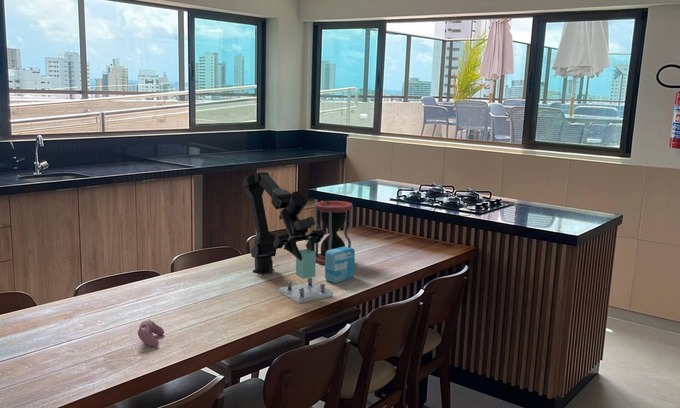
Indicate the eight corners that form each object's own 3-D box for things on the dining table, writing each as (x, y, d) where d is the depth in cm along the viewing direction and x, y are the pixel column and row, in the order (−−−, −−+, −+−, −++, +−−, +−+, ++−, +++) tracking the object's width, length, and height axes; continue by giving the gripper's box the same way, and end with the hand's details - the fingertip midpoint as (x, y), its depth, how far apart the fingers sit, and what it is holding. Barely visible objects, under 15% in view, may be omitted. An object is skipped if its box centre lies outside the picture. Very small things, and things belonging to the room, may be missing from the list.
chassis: (279, 292, 219) (279, 281, 219) (312, 285, 227) (312, 275, 226) (298, 303, 208) (298, 291, 207) (332, 296, 216) (333, 285, 215)
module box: (296, 275, 217) (296, 250, 215) (308, 272, 220) (308, 248, 218) (303, 278, 213) (303, 253, 211) (315, 276, 216) (315, 251, 214)
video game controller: (152, 339, 180) (140, 319, 178) (166, 332, 180) (154, 312, 178) (145, 353, 170) (132, 332, 169) (159, 346, 170) (147, 325, 169)
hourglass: (354, 257, 268) (355, 201, 264) (348, 267, 252) (349, 207, 248) (318, 254, 271) (318, 199, 266) (310, 264, 255) (310, 206, 251)
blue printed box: (333, 283, 230) (333, 253, 228) (324, 281, 233) (324, 250, 231) (354, 277, 238) (355, 247, 236) (346, 274, 242) (346, 245, 239)
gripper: (276, 212, 210) (292, 250, 203) (322, 207, 221) (338, 243, 214) (266, 229, 218) (281, 267, 211) (311, 224, 228) (326, 259, 221)
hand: (307, 258), depth 214 cm, fingers closed on module box, 5 cm apart
